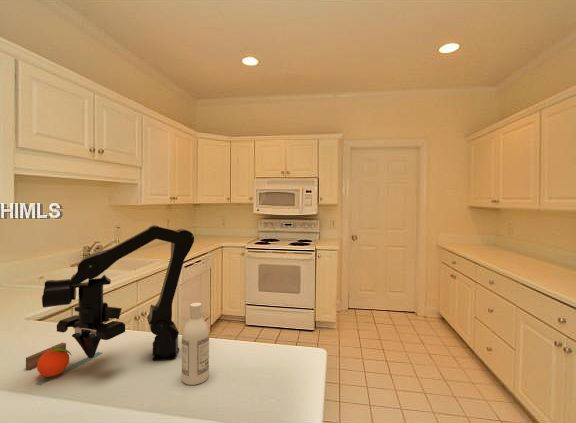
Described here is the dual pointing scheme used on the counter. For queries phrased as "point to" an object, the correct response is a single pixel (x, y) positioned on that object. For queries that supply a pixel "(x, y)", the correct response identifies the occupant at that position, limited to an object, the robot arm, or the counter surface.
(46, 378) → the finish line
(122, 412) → the counter surface
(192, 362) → the bath foam
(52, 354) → the clementine
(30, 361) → the rail
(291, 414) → the counter surface
